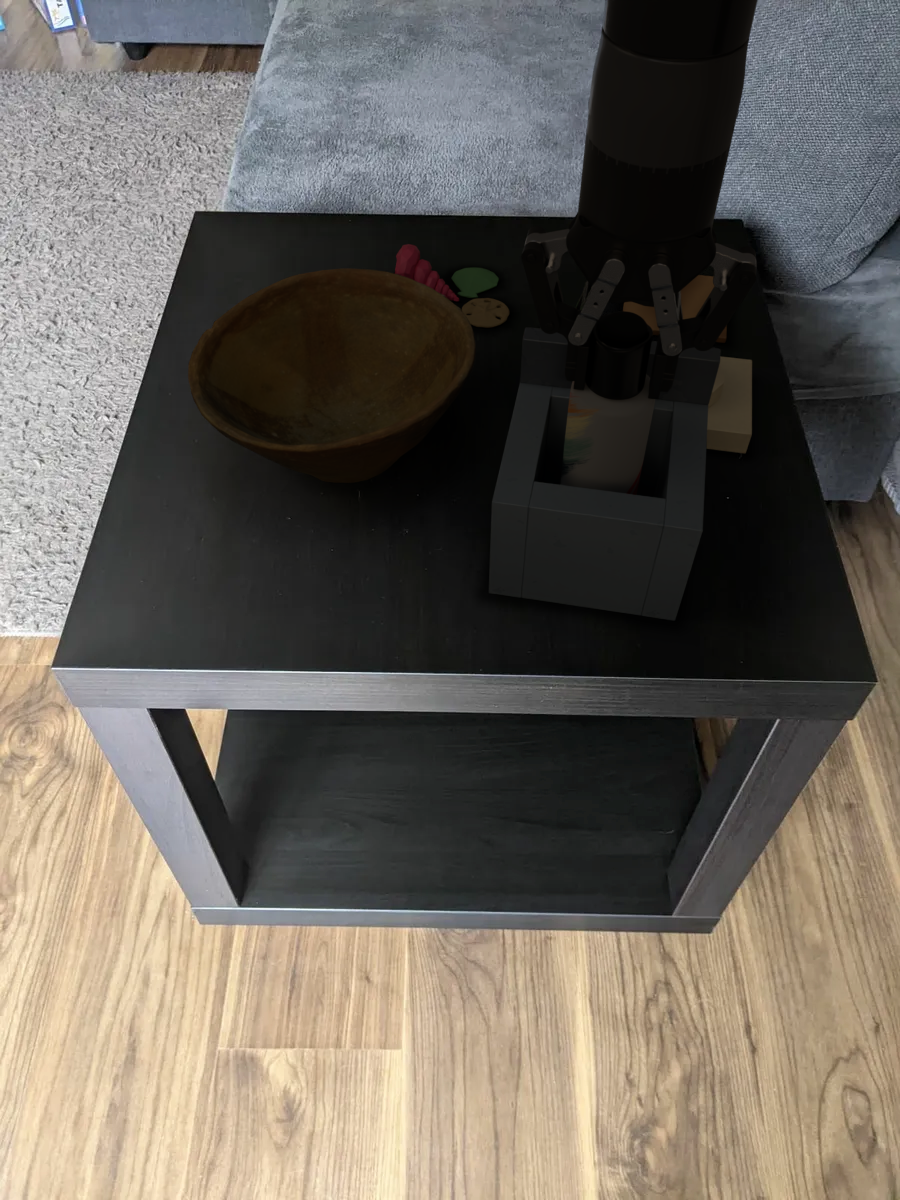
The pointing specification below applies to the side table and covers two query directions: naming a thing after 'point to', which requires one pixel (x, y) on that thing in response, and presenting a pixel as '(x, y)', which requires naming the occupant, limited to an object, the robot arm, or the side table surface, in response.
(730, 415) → the control box
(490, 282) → the toy pieces
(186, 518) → the side table surface
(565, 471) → the spray bottle
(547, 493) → the dark grey square holder
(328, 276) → the bowl
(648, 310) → the coaster
